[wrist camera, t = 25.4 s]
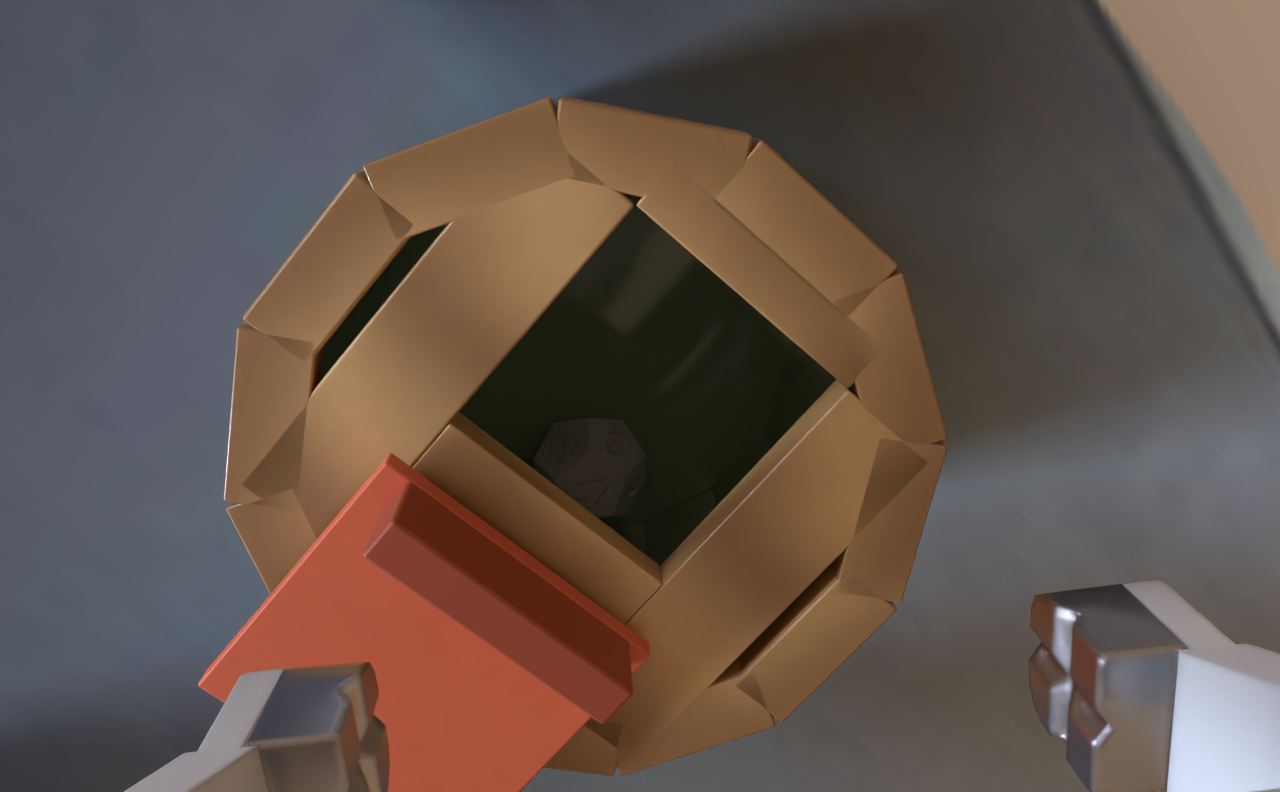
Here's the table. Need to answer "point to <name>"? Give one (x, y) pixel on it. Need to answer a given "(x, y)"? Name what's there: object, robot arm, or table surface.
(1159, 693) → the robot arm
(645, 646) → the slider
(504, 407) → the green round box
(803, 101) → the table surface
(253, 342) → the round tan lid
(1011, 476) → the table surface
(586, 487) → the game die
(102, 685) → the table surface
